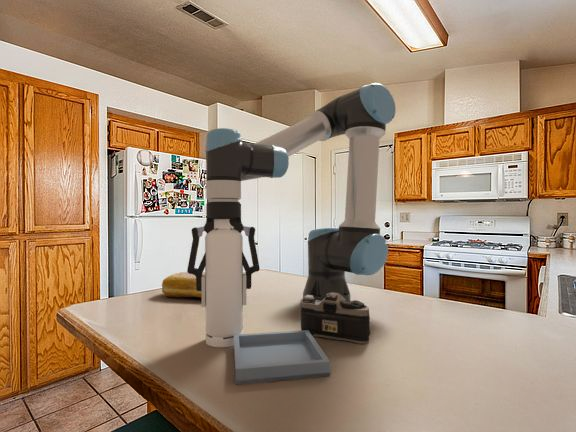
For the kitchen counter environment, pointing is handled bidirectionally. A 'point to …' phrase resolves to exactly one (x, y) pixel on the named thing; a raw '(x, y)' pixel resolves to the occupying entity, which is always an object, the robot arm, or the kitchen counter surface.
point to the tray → (278, 357)
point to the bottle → (223, 284)
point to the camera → (336, 318)
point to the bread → (181, 285)
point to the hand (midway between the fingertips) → (224, 304)
